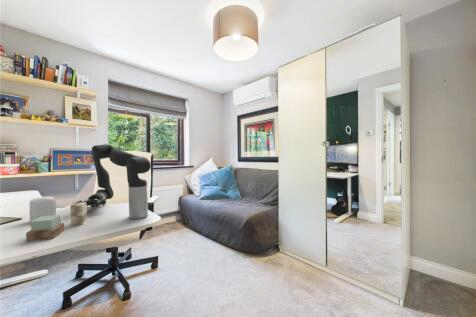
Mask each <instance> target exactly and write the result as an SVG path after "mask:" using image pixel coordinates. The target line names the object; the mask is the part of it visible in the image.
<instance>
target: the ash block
mask: <svg viewBox="0 0 476 317" xmlns="http://www.w3.org/2000/svg"><path fill="white" fill-rule="evenodd" d="M69 207H70V208H69V209H70V226H71V227H73V226H83V225H84V224H86V223H87V222H88V215H87V214H88V212H87V209H88V208H87V207H88V206H86V202H84V203H76V202H74V203H72V204H70V206H69Z"/></svg>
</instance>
